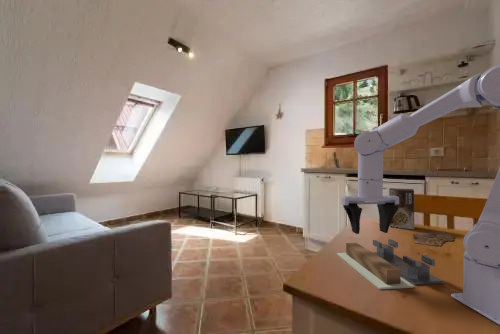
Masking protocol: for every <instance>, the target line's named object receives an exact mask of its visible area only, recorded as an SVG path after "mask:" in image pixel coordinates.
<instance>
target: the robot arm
mask: <svg viewBox="0 0 500 334" xmlns="http://www.w3.org/2000/svg"><path fill="white" fill-rule="evenodd" d="M483 102H486V103H487V104H488V105H489V106H491V107H493V108H495V109H497V110H499V111H500V63H497V64H496V65H493V66H492V67H490V68H489V69H487V70H485V71H484V73H481V72H480V73H478V74H475V75H473V76H471V77H470V78H469V79H466V80H465V81H464V82H462V83H461V84H459V85H458V86H456V87H455V88H453V89H451V90H449V91H448V92H446V93H444V94H442V95H441V96H439V97H437V98H435V99H434V100H433V101H431V102H429V103H427V104H426V105H424V106H422V107H421V108H418V110H416V111H414V112H413V113H411V114H406V113H399V114H392V115H391V116H390V117H389V118H390V120H388V121H386V122H384V123H382V124H381V125H379V126H373V127H372V128H371V131H369V130H363V131H361V132H360V133H359V134H358V135H357V136H356V137H355V139H354V142H353V146H354V150H355V151H356V152H357V156H358V158H357V160H358V161H357V195H349V196H348V195H347V196H341V197H340V198H341V199H340V200H341V202H340V203H341V205H342V207H343V209H344V210H345V213H346V215H347V217H348V220H349V222H350V227H351V232H352V233H354V234H356V235H359V234H360V231H361V230H360V227H361V226H360V225H361V215H362V212H363V208H362V207H359V205H376V206H377V211H378V217H379V222H378V223H379V226H378V227H379V231H380V232H382V233H385V234H387V233H388V232H389V228H390V227H389V226H390V223H391V220H392V218H393V216H394V215H395V213H396V212H397V210H398V206H397V205H395V204H399V197H398V196H389V195H383V194H384V192H383V191H384V188H383V187H384V161H383V160H384V155H383V154H384V152H386V150H387V149H389V148H391V147H394V146H395V145H397V144H399V143H401V142H403V141H406V140H407V139H409V138H412V137H413V136H416V134H417V132H418V129H419V127H421V126H423V125H426V124H428V123H430V122H433V121H435V120H437V119H439V118H441V117H443V116H446V115H448V114H450V113H453V112H454V111H456V110H459V109H461V108H483ZM462 241H463V242H462V244H463V247H464V249H465V251H464V252H463V277H462V279H463V283H462V285H463V286H462V288H463V290H462V292H457V293H455V292H453V293H451V294H450V297H452V298H453V299H455V300H457V301H459V302H460V303H462V304H464V305H465V306H467V307H469V308H470V309H472V310H473V311H475V312H477V313H479V314H480V315H482V316H484V317H485V318H486V319H489V320H490V321H492V322H494V323H496V324H497V325H499V326H500V166H499V167H498V170H497V173H496V176H495V178H494V181H493V184H492V185H491V189H490V192H489V194H488V196H487V199H486V201H485V205H484V207H483V209H482V212H481V214H480V216H479V217H478V220H477V222H476V223H475V224H474V225H473V226H472V227H471V230H469V231H468V232H466V233H465V235H464V238H463V240H462Z"/></svg>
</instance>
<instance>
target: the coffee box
mask: <svg viewBox="0 0 500 334" xmlns="http://www.w3.org/2000/svg"><path fill="white" fill-rule="evenodd" d="M388 196H398V197H399V204H395V205H397V206H398V210H397V212H396V213H395V215H394V216H393V218H392V220H391V223H390V226H392V227H391V228H396V227H398V229H405V230H408V229H409V230H415V190H414V189H413V188H396V187H395V188H393V187H389V189H388Z"/></svg>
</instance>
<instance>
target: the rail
mask: <svg viewBox="0 0 500 334" xmlns="http://www.w3.org/2000/svg"><path fill="white" fill-rule="evenodd" d="M345 244H346V245H345V253H346V254H347V255H348V256H350V257H351V258H352V259H354V260H355V261H356V262H358V263H359V264H360V265H361V266H363V267H364V268H365V269H367V270H368V271H369V272H371V273H372V274H373V275H375V276H376V277H377V278H379V279H380V280H381V281H383V282H384V283H385V284H387V285H390V284H400V277H401V276H400V275H401V270H400V269H399V268H397V267H396V266H394V265H392V264H391V263H389V262H387V261H386V260H384V259H382V258H381V257H379V256H377V255H376V254H374V253H373V252H374V251H371V250H370V249H367V248H366V247H365V246H363V245H361V244H359V243H358V242H345Z"/></svg>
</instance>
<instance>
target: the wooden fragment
mask: <svg viewBox="0 0 500 334" xmlns="http://www.w3.org/2000/svg"><path fill="white" fill-rule="evenodd" d="M413 239H414V244H415V245H421V246H431V247H442V245H443V244H444V243H446V242H452V241H455V239H456V236H454V235H453V234H451V233H448V232H447V231H444V230H438V231H424V232H416V233H414V234H413Z"/></svg>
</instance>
